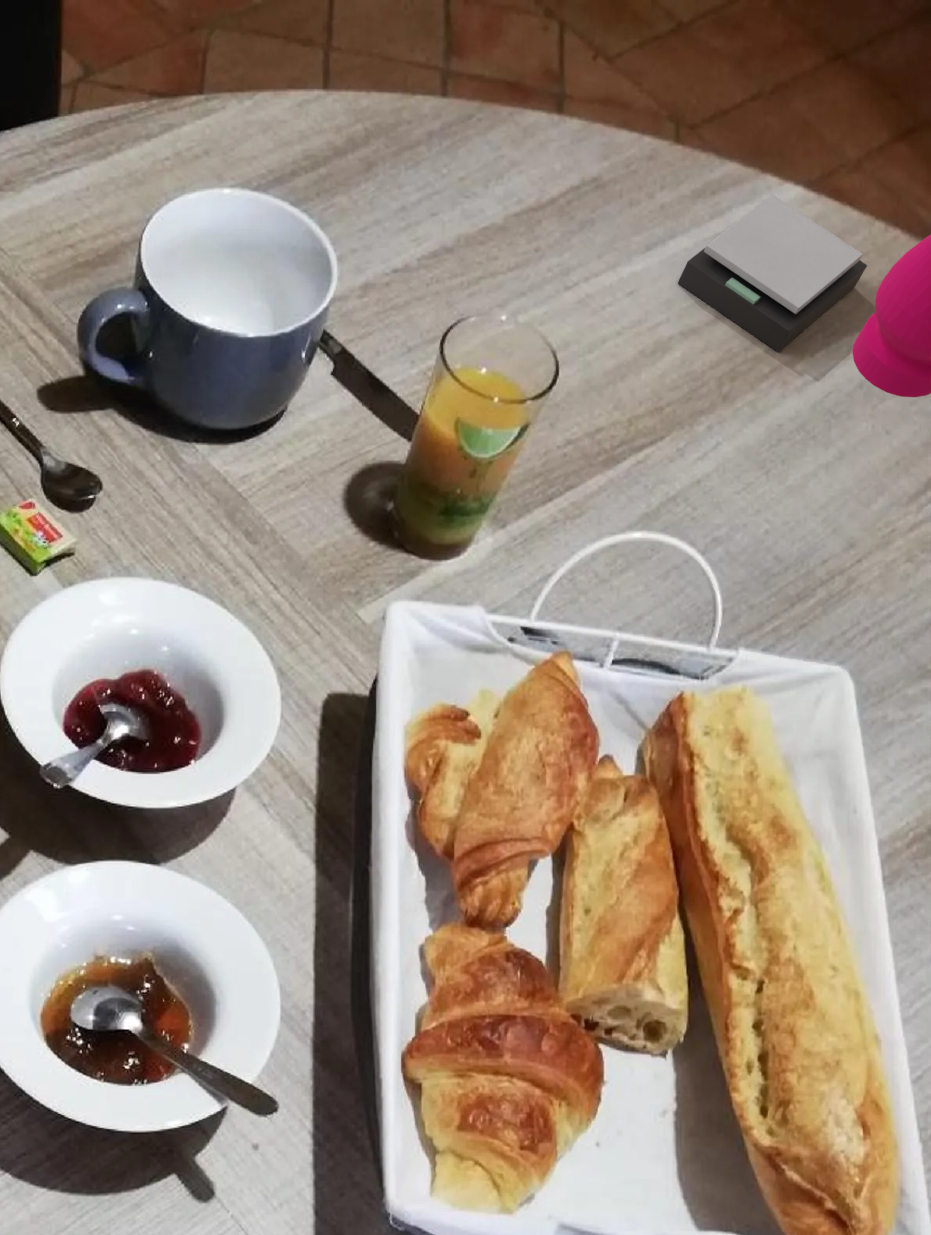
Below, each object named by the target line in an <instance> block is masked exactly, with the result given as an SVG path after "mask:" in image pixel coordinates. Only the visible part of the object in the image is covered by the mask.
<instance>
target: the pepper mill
mask: <svg viewBox="0 0 931 1235" xmlns="http://www.w3.org/2000/svg"><path fill="white" fill-rule="evenodd" d="M875 294H876V295H875V300H874V313H872V315H870V316H869V318H868V319H867V321H866V322H865V324H864V325H863V327H862V328H861V330H860V332H859V334H858V336H857V337H856V339H855V340H854V342H853V346H852V358H853V362H854V364H855V366H856V368H857V370H858V372H859V374H861V375H862V377H863V378H864V379H865V380H866V381H867V382H869V383H870V384H871V385H872V386H874V387H876V388H877V389H879V390H882V391H883V392H885V393H887V394H891V395H894V396H898V397H901V398H920V397H926V396H929V395H931V234H929V235H928V236H926V237H925V238H923V239H922V240H921V241H919V242H918V243H917V244H915V245H914V246H912V247H911V248H910V249H909V250H907V251H906V252H905V253H904V254H903V255H902V256H901V257H900V258H898V260H897V261H896V262H895V263H894V264H893V265H892V267H891V268H890V269H889V271H888V272H887V274H886V275H885V276H884V278H883V279H882V281H881V282H880V284H879V285H878V289H877V291H876V293H875Z"/></svg>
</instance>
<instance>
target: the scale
mask: <svg viewBox="0 0 931 1235" xmlns="http://www.w3.org/2000/svg"><path fill="white" fill-rule="evenodd" d="M863 255H864V254H863V253H862V252H860V251H859V250H857V249H856V248H854V247H853V246H851V245H850V244H848V243H847V242H845V241H843V239H841V238H839V237H837V236H836V235H834V234H833V233H832V232H830V231H829V230H827V229H826V228H824V227H823V226H821V225H819V223H817V222H815V221H814V220H812V219H810V218H809V217H808V216H806V215H805V214H803V213H801V212H800V211H798V210H797V209H795V208H794V207H792V206H791V205H789V204H788V203H786V201H785V202H784V200H782V199H780V198H779V197H777V196H776V195H775V194H773V193H770V194H769V195H768V196H767V197H765V198H764V199H763V200H762V201H761V202H759V203H758V204H757V205H756V206H754V207H753V208H751V210H749V211H748V212H746V214H743V216H742V217H740V218H739V219H738V220H737V221H735V222H734V223H732V225H730V226H729V227H728V228H726V229H725V230H724V231H723V232H721V233H720V234H719V235H718V236H716V237H715V238H714V239H713V240H711V242H709V243H708V244H706V246H705V247H704V248H702V249H701V250H700V251H699V252H698V253H696V254H695V255H693V257H691V258H690V259H689V260H687V261H686V264H685V266H684V268H683V270H682V272H681V274H680V277H679V279H678V281H677V284H678V285H679V286H681V287H682V288H684V289H685V290H687V291H688V292H689V293H691V294H693V295H694V296H695V297H697V298H698V299H699V300H701V301H703V302H704V303H706V305H708V306H710V307H712V309H715V310H716V312H718V313H720V314H721V315H723V316H724V317H726V318H727V319H729V320H730V321H732V322H733V323H735V325H737V326H738V327H741V329H743V330H745V331H746V332H748V333H749V334H751V335H752V336H753V337H755V338H756V339H758V340H759V341H761V342H762V343H764V344H765V345H767V346H768V347H769V348H771V349H772V350H774V351H775V352H777V353H780V351H781V350H782V349H784V348H785V347H786V346H787V345H788V344H790V343H791V342H792V341H793V340H794V339H796V337H798V336H799V335H800V334H801V333H803V332H804V331H805V330H806V329H807V328H808V327H809V326H811V325H812V324H813V323H815V321H817V320H818V319H819V318H820V317H821V316H823V314H825V313H826V312H827V311H829V310H830V308H832V307H833V306H834V305H835V304H837V303H838V302H839V301H840V300H842V299H843V298H844V297H845V296H846V295H847V294H848V293H850V292H851V291H852V290H853V289H854V288H855V287H856V286H857V283H858V282H859V281H860V279H861V277H862V275H863V274H864V272H865V270H866V269H867V267H868V264H866V263H865V262H863V261H861V259H862V257H863Z"/></svg>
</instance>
